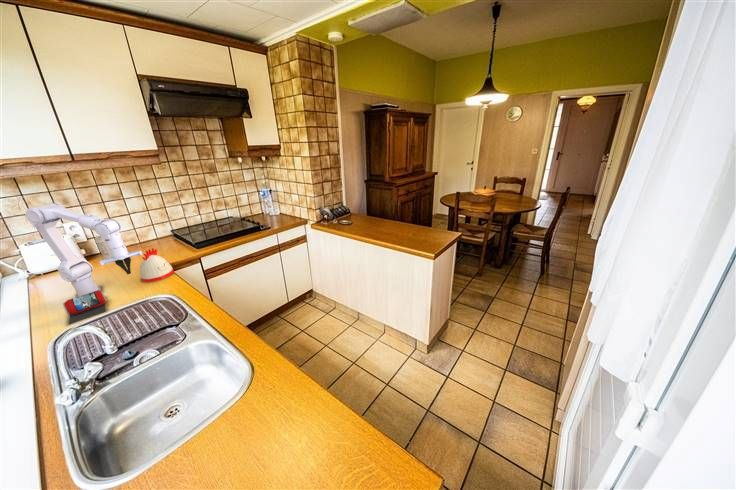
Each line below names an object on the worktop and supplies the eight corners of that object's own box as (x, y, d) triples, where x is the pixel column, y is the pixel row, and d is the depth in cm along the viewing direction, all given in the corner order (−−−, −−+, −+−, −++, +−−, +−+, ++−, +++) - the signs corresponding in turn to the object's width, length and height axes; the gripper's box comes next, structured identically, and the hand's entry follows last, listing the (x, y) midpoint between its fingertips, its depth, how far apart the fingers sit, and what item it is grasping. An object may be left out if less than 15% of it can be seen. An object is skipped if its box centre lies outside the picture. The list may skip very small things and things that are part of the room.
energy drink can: (119, 257, 170) (109, 235, 164) (109, 261, 164) (98, 238, 159) (112, 256, 171) (102, 235, 165) (102, 260, 166) (91, 238, 160)
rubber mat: (71, 308, 118) (70, 307, 118) (104, 297, 125) (103, 296, 125) (69, 324, 107) (68, 323, 107) (105, 311, 114) (105, 310, 114)
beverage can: (104, 298, 115) (65, 312, 107) (109, 305, 120) (71, 318, 112) (99, 286, 117) (60, 299, 109) (103, 293, 122) (66, 305, 114)
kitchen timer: (179, 269, 148) (170, 245, 142) (157, 282, 136) (146, 256, 130) (158, 268, 151) (148, 244, 145) (135, 281, 138) (123, 255, 132)
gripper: (94, 254, 111) (109, 282, 116) (138, 243, 120) (149, 270, 125) (94, 250, 116) (108, 277, 121) (136, 240, 125) (147, 265, 130)
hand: (129, 273), depth 124 cm, fingers closed
